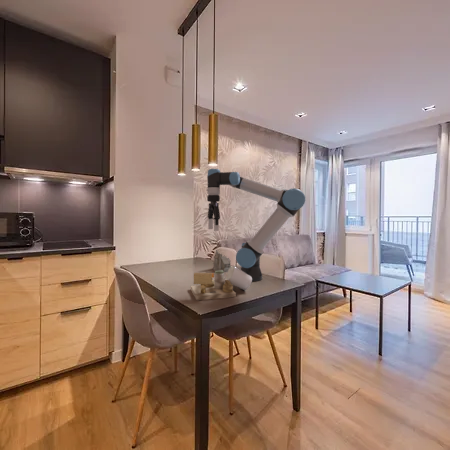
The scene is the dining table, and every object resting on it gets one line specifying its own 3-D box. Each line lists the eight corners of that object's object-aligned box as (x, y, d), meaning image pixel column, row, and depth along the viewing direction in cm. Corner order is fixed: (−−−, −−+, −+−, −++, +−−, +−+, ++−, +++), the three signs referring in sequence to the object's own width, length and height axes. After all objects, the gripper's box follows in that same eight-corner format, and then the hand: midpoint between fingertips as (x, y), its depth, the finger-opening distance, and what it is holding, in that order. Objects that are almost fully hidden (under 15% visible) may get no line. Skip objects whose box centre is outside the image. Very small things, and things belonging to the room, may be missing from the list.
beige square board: (225, 286, 145) (225, 267, 145) (235, 296, 128) (236, 274, 128) (190, 289, 139) (190, 269, 139) (196, 300, 122) (196, 277, 122)
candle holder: (250, 289, 133) (231, 278, 130) (241, 293, 140) (222, 283, 138) (254, 273, 139) (236, 262, 136) (245, 277, 146) (227, 268, 144)
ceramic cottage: (220, 272, 178) (221, 251, 179) (209, 268, 193) (210, 249, 193) (238, 271, 186) (239, 251, 187) (227, 268, 200) (227, 249, 201)
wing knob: (194, 291, 129) (194, 272, 128) (214, 291, 129) (214, 272, 128) (193, 293, 126) (193, 274, 125) (213, 293, 125) (213, 274, 125)
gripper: (203, 196, 164) (202, 228, 165) (212, 193, 141) (212, 231, 142) (214, 196, 167) (214, 228, 168) (225, 193, 143) (225, 231, 144)
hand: (213, 230), depth 155 cm, fingers open, 13 cm apart
